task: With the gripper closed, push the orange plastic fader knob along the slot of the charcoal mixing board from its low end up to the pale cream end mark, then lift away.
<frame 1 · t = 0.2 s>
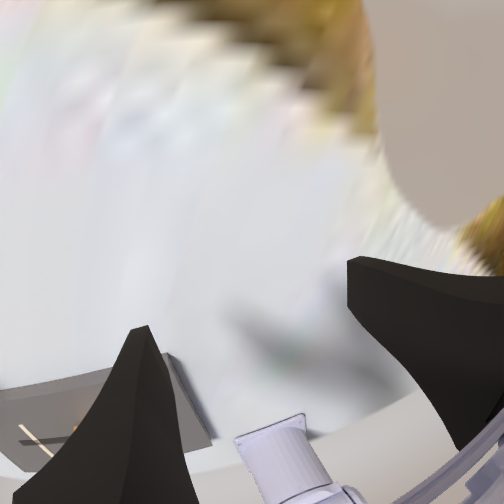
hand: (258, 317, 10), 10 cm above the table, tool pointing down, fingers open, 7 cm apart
mixing board: (74, 426, 21), on the table
fader knob: (99, 454, 18), point 4 cm above the table, slide at -3.0 cm
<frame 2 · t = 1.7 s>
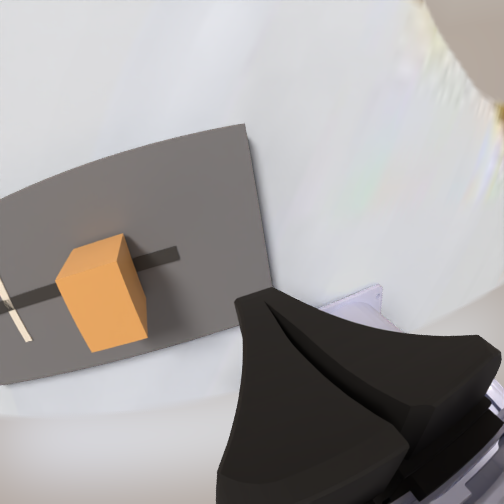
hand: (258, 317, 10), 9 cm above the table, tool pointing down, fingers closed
mixing board: (70, 275, 16), on the table
fader knob: (106, 290, 14), point 4 cm above the table, slide at -3.0 cm
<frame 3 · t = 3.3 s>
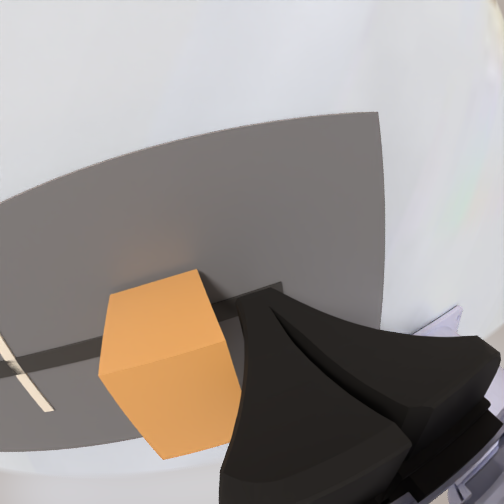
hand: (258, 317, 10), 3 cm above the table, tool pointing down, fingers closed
mixing board: (106, 322, 11), on the table
fader knob: (177, 366, 8), point 4 cm above the table, slide at -2.7 cm, touching gripper
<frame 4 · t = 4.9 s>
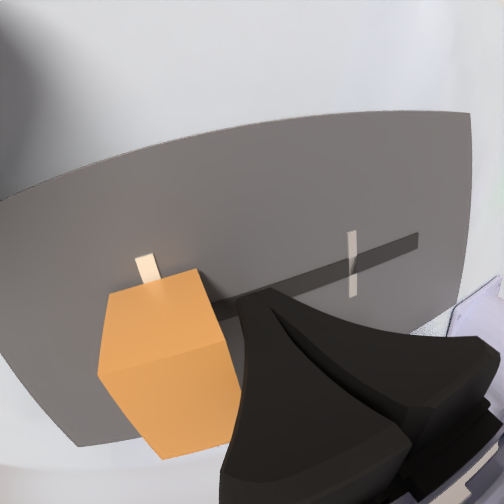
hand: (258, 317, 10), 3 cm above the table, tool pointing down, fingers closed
mixing board: (271, 272, 13), on the table
fader knob: (176, 366, 8), point 4 cm above the table, slide at 4.5 cm, touching gripper
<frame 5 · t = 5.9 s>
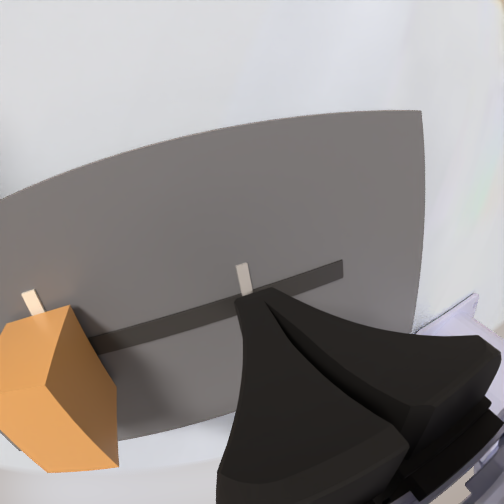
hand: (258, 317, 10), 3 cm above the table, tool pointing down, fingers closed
mixing board: (165, 303, 12), on the table
fader knob: (52, 394, 7), point 4 cm above the table, slide at 4.5 cm
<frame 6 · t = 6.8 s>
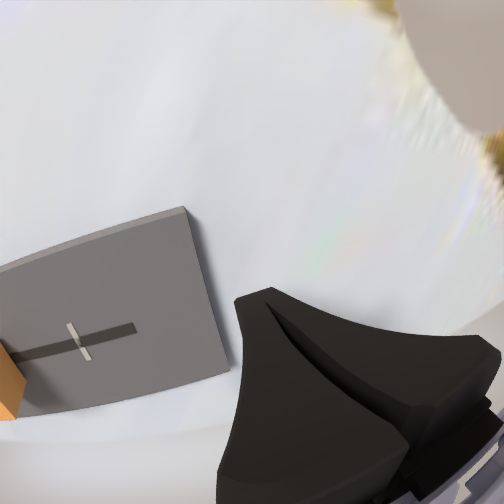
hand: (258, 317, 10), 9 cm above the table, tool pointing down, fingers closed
mixing board: (48, 338, 17), on the table
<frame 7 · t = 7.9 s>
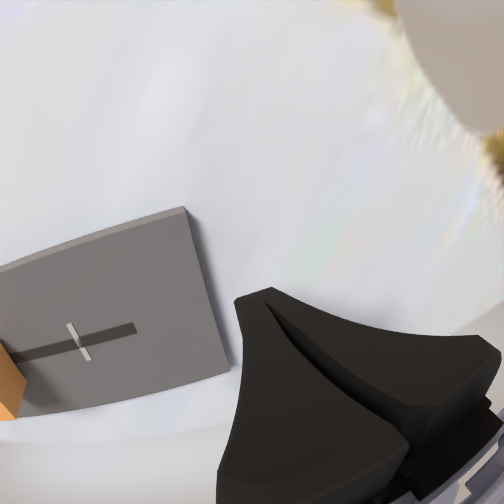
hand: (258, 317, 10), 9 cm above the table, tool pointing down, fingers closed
mixing board: (48, 338, 17), on the table
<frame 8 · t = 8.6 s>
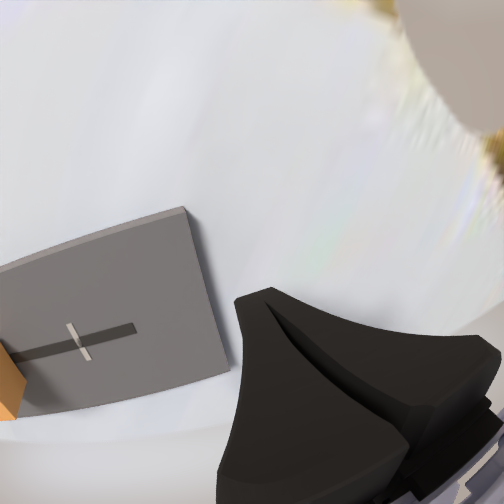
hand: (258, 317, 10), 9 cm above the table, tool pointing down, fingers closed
mixing board: (48, 338, 17), on the table
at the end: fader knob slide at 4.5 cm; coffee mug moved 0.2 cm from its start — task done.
